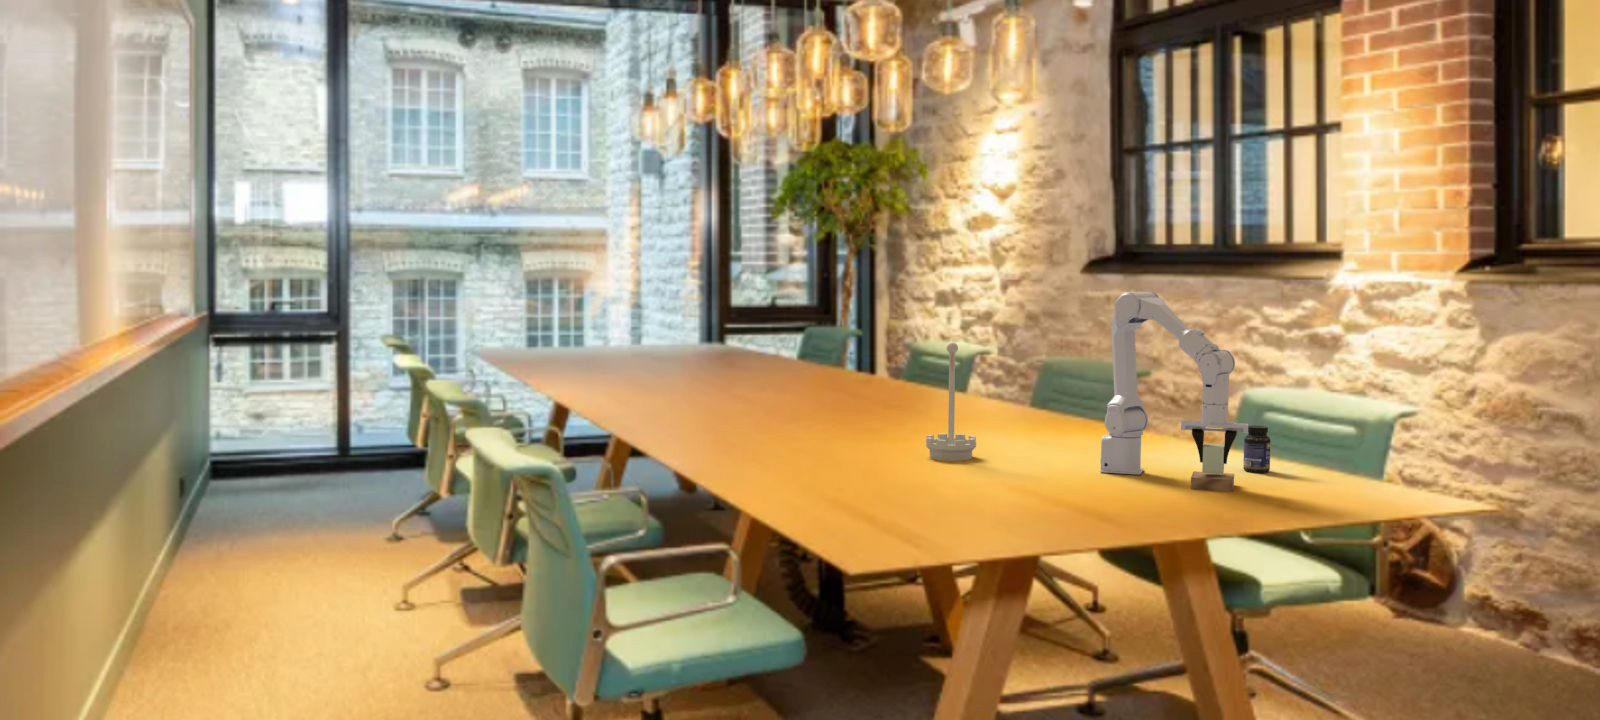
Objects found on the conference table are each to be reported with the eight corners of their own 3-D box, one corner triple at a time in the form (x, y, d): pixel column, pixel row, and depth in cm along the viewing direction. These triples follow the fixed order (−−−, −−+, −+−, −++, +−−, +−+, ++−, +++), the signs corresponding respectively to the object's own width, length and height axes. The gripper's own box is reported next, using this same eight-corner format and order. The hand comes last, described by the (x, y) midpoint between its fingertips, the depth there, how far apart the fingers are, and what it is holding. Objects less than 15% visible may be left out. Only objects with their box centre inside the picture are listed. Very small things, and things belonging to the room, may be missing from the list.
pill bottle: (1271, 473, 315) (1272, 428, 314) (1245, 472, 317) (1246, 427, 316) (1267, 469, 321) (1269, 425, 320) (1241, 468, 323) (1243, 424, 322)
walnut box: (1190, 490, 295) (1191, 477, 295) (1193, 484, 304) (1193, 471, 303) (1232, 493, 292) (1232, 480, 292) (1233, 486, 301) (1234, 473, 300)
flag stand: (926, 452, 346) (927, 340, 343) (976, 454, 344) (977, 341, 341) (924, 461, 333) (925, 344, 330) (975, 462, 331) (977, 344, 328)
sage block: (1202, 472, 296) (1203, 446, 296) (1203, 469, 301) (1204, 443, 300) (1223, 473, 295) (1223, 447, 294) (1223, 470, 299) (1224, 444, 299)
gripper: (1180, 404, 295) (1178, 463, 296) (1248, 407, 290) (1246, 467, 291) (1182, 400, 302) (1181, 458, 303) (1249, 403, 297) (1247, 462, 298)
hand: (1213, 462), depth 297 cm, fingers closed on sage block, 4 cm apart
